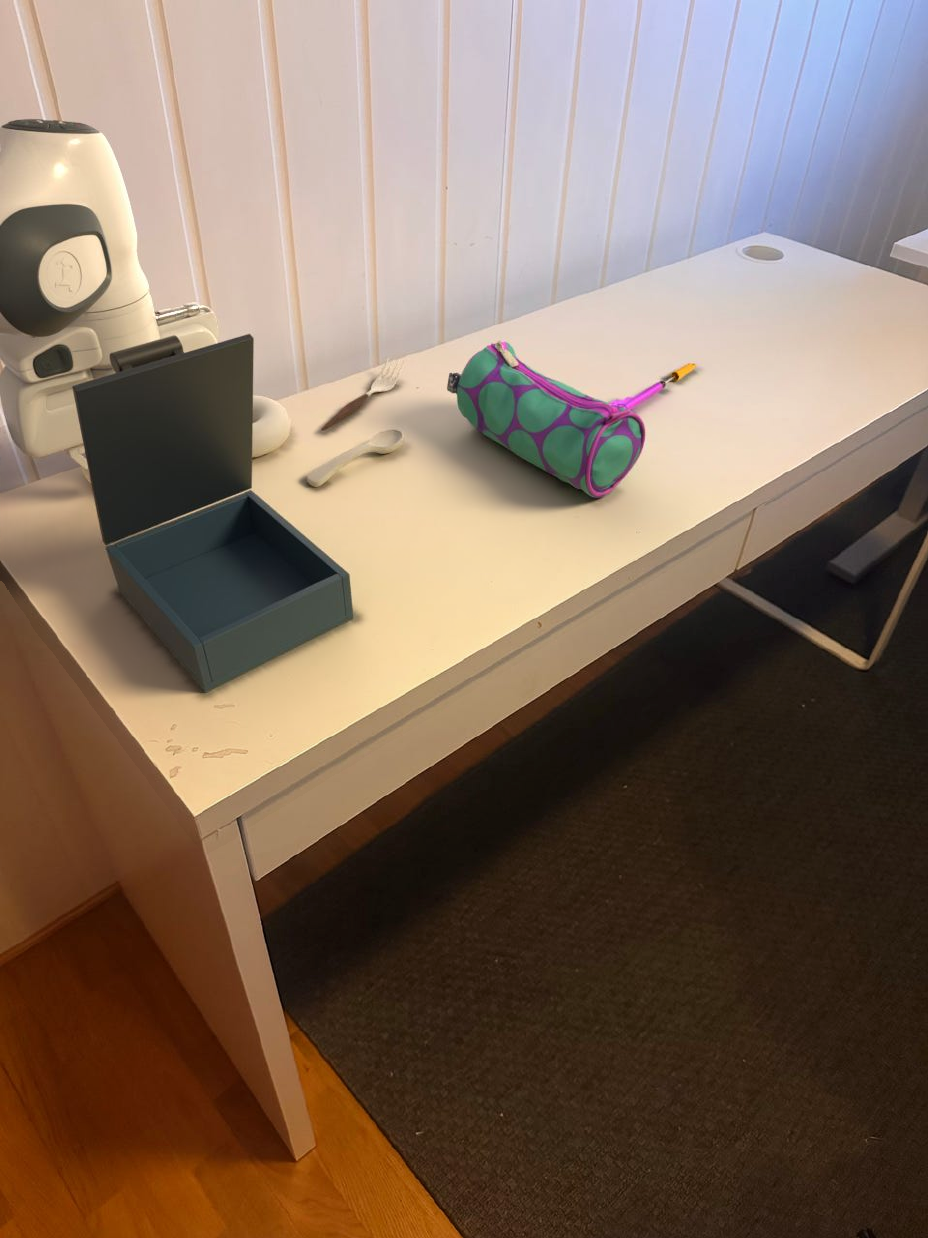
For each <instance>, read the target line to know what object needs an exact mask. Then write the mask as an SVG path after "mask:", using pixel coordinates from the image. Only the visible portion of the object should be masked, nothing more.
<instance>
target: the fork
mask: <svg viewBox="0 0 928 1238" xmlns="http://www.w3.org/2000/svg"><path fill="white" fill-rule="evenodd" d="M389 360H390V357H388V358H387V360H386V361H385V363H384V365H383V367H382V369H381V371H380V372H379V373H378V376H377V377H376V378H375V380H374V381H373V382H372V384H371V386H370V390H369V391H367V392H366V393H364V394H362V395H360V396H358V397H357V398H355V399H353V400H352V401H350V402H349V403H347V404H346V405H345V406H344V407H342V408H341V409H340V410H339V411H338V412H337V413H336V414H335V415H334V416H333V417H332V418H331V419H330V420H329V421H328V422H327V423H326V424H324V425H323V427H322V428H321V429H320V431H321V432H322V431H326V430H328V429H329V428H331V427H333V426H335V424H337V423H338V422H339V421H341V420H343V419H344V418H346V417H348V416H349V415H351V414H353V413H354V412H355V411H356V410H358V409H359V407H361V405H362V404H363V403H364V402H365V401H366V400H367V399H368V398H369V397H370V396H371V395H372V394H374V393H382V392H388V391H390V390H392V389H393V388H394V387H395V386H396V383H397V381H398V379H399V377H400V375H401V372H402V370H403V368H404V365H405V363H406V361H403V363H402V364H401V367H400V368H399V370H398V372H397V374H396V376H395V377H394V375H395V373H396V371H397V368H398V366H399V363H400V360H397V362H396V364H395V366H394V369H393V370H392V372H391V374H390V375H389V373H390V371H391V369H392V367H393V365H394V362H395V358H393V359H392V361H391V363H390V365H389V367H388V368H387V365H388V363H389ZM386 368H387V370H386V372H385V369H386ZM384 372H385V374H384ZM383 375H384V376H383ZM388 376H389V377H388ZM393 377H394V379H393Z"/></svg>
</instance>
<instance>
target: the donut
mask: <svg viewBox="0 0 928 1238" xmlns="http://www.w3.org/2000/svg"><path fill="white" fill-rule="evenodd" d="M291 428H292V420H291V417H290V415H289V413H288V411H287V409H286V408H285V407H284V406H283V405H282V404H281V403H279V402H278V401H276V400H274V399H272V398H269V397H267V396H263V395H256V394H253V434H252V459H254V458H259V457H262V456H265V455H268V454H269V453H272V452H273V451H276V449H278V448H280V447H281V446H282V445H284V443H285V441H286V440H287V439H288V438H289V436H290V433H291Z"/></svg>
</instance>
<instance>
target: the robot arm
mask: <svg viewBox="0 0 928 1238" xmlns="http://www.w3.org/2000/svg"><path fill="white" fill-rule="evenodd" d="M108 141H109V140H107V137H106V136H105V134H103V133H102V132H101V131H99V130H98V129H96V128H94V127H93V126H91V125H88V124H86V123H82V122H75V121H66V120H57V119H54V120H49V119H42V118H41V119H40V118H25V119H24V118H23V119H15V120H11V121H8V122H7V123H5V124H3V125H1V126H0V361H1V362H2V363H3V365H4V367H3V368H2V370H1V371H0V402H1V407H2V411H3V415H4V419H5V423H6V426H7V429H8V432H9V435H10V437H11V439H12V441H13V443H14V444H15V446H16V447H17V448H18V449H19V450H20V451H21V452H22V453H24V454H25V455H27V456H29V457H30V458H32V459H41V458H44V457H47V456H50V455H53V454H56V453H59V452H61V451H62V452H63V451H64V452H65V453H66V454H67V455H68V456H69V457H70V458H71V459H72V460H73V461H74V462H76V463H77V464H78V465H80V467H81V470H82V473H83V475H84V478H85V480H87V481H88V483H90V484H91V480H90V475H89V470H88V465H87V459H86V456H84V454H85V449H84V444H83V439H82V434H81V429H80V424H79V419H78V414H77V409H76V403H75V398H74V393H73V388H72V386H74V385H77V384H81V383H84V382H87V381H91V380H94V379H98V378H101V377H104V376H108V375H111V374H114V373H116V372H115V371H114V369H113V367H112V365H111V362H110V353H113V352H116V351H120V350H123V349H127V348H130V347H134V346H137V345H141V344H145V343H148V342H152V341H155V340H159V339H162V338H166V337H169V336H173V335H175V336H177V337H178V338H179V340H180V342H181V344H182V347H183V352H184V353H186V352H189V351H192V350H196V349H199V348H203V347H206V346H209V345H213V344H216V343H219V341H218V340H219V336H220V333H219V332H220V331H219V325H218V321H217V316H216V314H215V312H214V311H213V310H212V309H211V307H209V306H207V305H203V304H199V303H198V302H196V301H192V302H191V301H190V302H186V303H184V304H182V305H180V306H176V307H170V308H165V309H161V310H157V311H155V308H154V305H153V299H152V295H151V290H150V286H149V282H148V279H147V277H146V275H145V273H144V272H143V269H142V268H141V265H140V262H139V258H138V252H137V251H138V232H137V228H136V223H135V218H134V214H133V211H132V206H131V202H130V198H129V195H128V191H127V188H126V185H125V180H124V178H123V175H122V172H121V169H120V166H119V162H118V161H117V158H116V156H115V153H114V150H113V149H112V147H111V145H110V143H109V142H108ZM82 454H83V455H82Z"/></svg>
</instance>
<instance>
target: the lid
mask: <svg viewBox="0 0 928 1238" xmlns="http://www.w3.org/2000/svg"><path fill="white" fill-rule="evenodd" d="M254 341H255V340H254V336H252V335H251V333H247V334H244V335H239V336H237V337H233V338H230V339H227V340H224V341H223V340H222V341H220V342H219V341H218V343H216V344H213V345H209V346H206V347H203V348H199V349H196V350H192V351H189V352H186V353H184V352H183V347H182V344H181V342H180V340H179V338H178V337H177V336H175V335H173V336H169V337H166V338H162V339H159V340H155V341H152V342H148V343H145V344H141V345H137V346H134V347H130V348H127V349H123V350H120V351H116V352H113V353H110V362H111V365H112V367H113V369H114V371H115V372H116V373H114V374H111V375H108V376H104V377H101V378H98V379H94V380H91V381H87V382H84V383H81V384H77V385H74V386H72V388H73V393H74V398H75V403H76V409H77V414H78V419H79V424H80V429H81V434H82V439H83V445H84V449H85V453H84V455H85V458H86V459H87V465H88V470H89V475H90V480H91V483H90V484H91V489H92V495H93V500H94V505H95V511H96V514H97V515H96V516H97V520H98V525H99V530H100V536H101V541H102V542H103V544H104V545H105V546H109V545H111V544H114V543H117V542H119V541H122V540H124V539H127V538H129V537H132V536H134V535H137V534H140V533H142V532H145V531H147V530H150V529H152V528H155V527H157V526H160V525H163V524H165V523H168V522H170V521H173V520H175V519H178V518H181V517H183V516H186V515H188V514H191V513H193V512H196V511H198V510H201V509H204V508H206V507H209V506H211V505H214V504H216V503H219V502H221V501H224V500H227V499H229V498H232V497H234V496H237V495H239V494H242V493H244V492H247V491H249V490H252V489H253V458H252V434H253V395H254V351H255V350H254V347H255V346H254V344H255V343H254Z"/></svg>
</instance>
